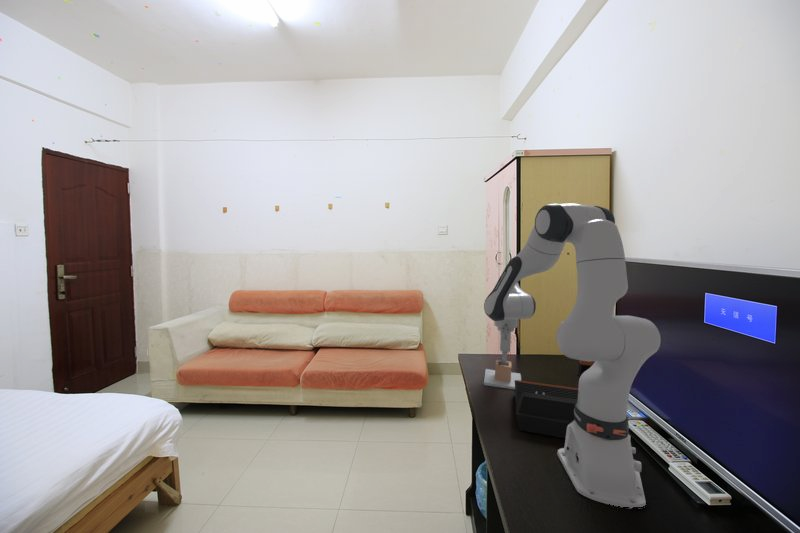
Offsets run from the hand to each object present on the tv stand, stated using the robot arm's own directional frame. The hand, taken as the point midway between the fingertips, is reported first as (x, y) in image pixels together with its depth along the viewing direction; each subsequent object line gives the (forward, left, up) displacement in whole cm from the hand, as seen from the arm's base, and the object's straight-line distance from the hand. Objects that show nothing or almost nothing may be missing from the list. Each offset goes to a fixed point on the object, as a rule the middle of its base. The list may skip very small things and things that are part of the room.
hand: (504, 355), depth 139 cm
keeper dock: (0, 0, -10) cm, 10 cm away
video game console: (-23, -18, -11) cm, 31 cm away
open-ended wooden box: (0, 0, -9) cm, 9 cm away
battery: (+16, -34, -11) cm, 39 cm away
